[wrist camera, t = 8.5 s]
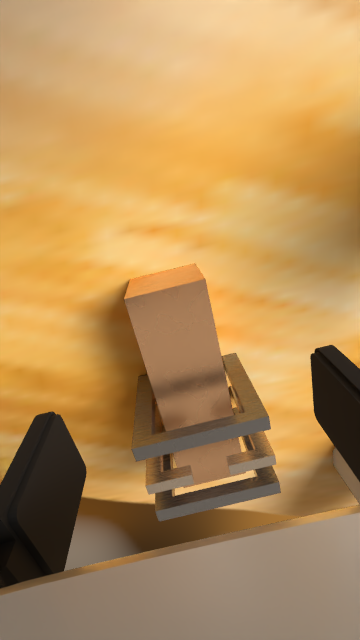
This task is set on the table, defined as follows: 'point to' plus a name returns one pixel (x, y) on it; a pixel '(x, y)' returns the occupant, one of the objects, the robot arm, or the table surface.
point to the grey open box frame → (161, 444)
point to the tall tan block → (183, 361)
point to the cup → (346, 474)
